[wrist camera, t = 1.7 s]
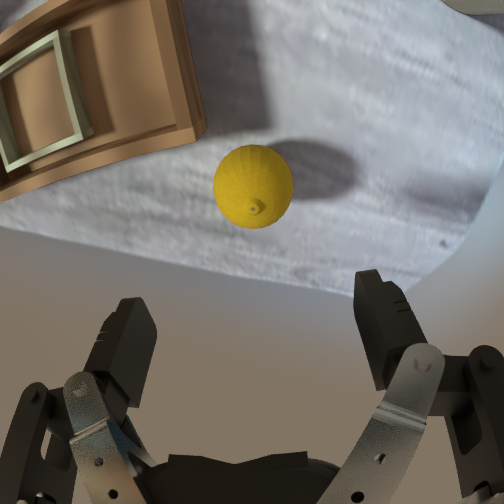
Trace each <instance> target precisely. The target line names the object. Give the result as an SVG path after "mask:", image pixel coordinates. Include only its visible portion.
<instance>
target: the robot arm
mask: <svg viewBox="0 0 504 504" xmlns="http://www.w3.org/2000/svg"><path fill="white" fill-rule="evenodd" d="M442 1H443V2H444V3H445V4H447V5H448V6H450V7H452V8H453V9H455V10H457V11H459V12H461V13H465V14H469V15H483V14H504V0H442ZM353 308H354V315H355V319H356V323H357V325H358V329H359V332H360V336H361V339H362V342H363V345H364V349H365V352H366V355H367V359H368V362H369V366H370V369H371V373H372V376H373V379H374V383H375V387H376V390H377V391H379V390H384V389H386V393H385V395H384V397H383V399H382V401H381V403H380V405H379V406H378V407H377V408H376V410H375V411H374V413H373V415H372V417H371V419H370V420H369V422H368V424H367V426H366V428H365V429H364V431H363V433H362V435H361V437H360V438H359V440H358V441H357V443H356V445H355V447H354V448H353V450H352V451H351V453H350V455H349V456H348V458H347V459H346V461H345V463H344V464H343V466H342V467H341V468H340V467H338V466H336V465H334V464H332V463H329V462H325V461H322V460H318V459H311V458H307V457H308V456H307V451H303V452H295V453H284V454H271V455H268V456H265V457H261V458H258V459H254V460H250V461H246V462H243V463H239V464H231V463H226V462H222V461H218V460H214V459H210V458H206V457H203V456H190V455H173V454H169V458H168V462H166V463H162V464H159V465H158V464H157V463H156V462H155V460H154V459H153V458H152V457H151V456H150V455H149V453H148V452H147V450H146V448H145V447H144V445H143V443H142V441H141V439H140V437H139V436H138V434H137V432H136V430H135V428H134V426H133V424H132V422H131V420H130V418H129V416H128V415H127V414H126V412H127V408H128V407H135V408H139V405H140V400H141V396H142V392H143V388H144V384H145V381H146V377H147V372H148V369H149V365H150V362H151V358H152V354H153V351H154V347H155V344H156V339H157V329H156V325H155V323H154V321H153V319H152V317H151V315H150V313H149V311H148V309H147V307H146V305H145V303H144V301H143V299H142V298H140V297H135V298H124V299H122V300H121V301H120V303H119V305H118V307H117V310H116V312H112V313H111V315H110V316H109V317H108V318H107V319H106V320H105V321H104V323H103V325H102V328H101V330H100V334H99V335H98V337H97V339H96V342H95V343H94V346H93V348H92V351H91V353H90V355H89V358H88V361H87V362H86V365H85V367H84V370H83V372H78V373H76V374H74V375H72V376H71V377H70V378H69V379H68V380H67V381H66V383H65V385H64V387H61V388H57V389H53V390H48V388H47V387H46V386H45V385H43V384H42V383H40V382H35V383H32V384H30V385H29V386H28V387H27V388H26V389H25V390H24V391H23V393H22V395H21V398H20V401H19V403H18V406H17V409H16V411H15V414H14V417H13V419H12V422H11V425H10V428H9V431H8V434H7V437H6V440H5V444H4V447H3V450H2V454H1V457H0V504H72V497H73V491H74V485H75V479H76V474H77V469H78V470H79V472H80V475H81V478H82V480H83V483H84V485H85V487H86V490H87V492H88V495H89V497H90V499H91V502H92V504H389V502H390V500H391V498H392V497H393V495H394V493H395V491H396V489H397V488H398V486H399V484H400V482H401V480H402V478H403V476H404V474H405V473H406V470H407V469H408V466H409V464H410V462H411V460H412V458H413V456H414V454H415V451H416V449H417V447H418V445H419V443H420V440H421V438H422V436H423V433H424V430H425V428H426V419H427V416H444V418H445V421H446V425H447V429H448V433H449V437H450V441H451V445H452V450H453V454H454V459H455V463H456V468H457V473H458V478H459V483H460V489H461V494H462V499H461V500H460V501H459V502H458V503H457V504H504V357H503V355H502V354H501V353H500V352H499V351H498V350H497V349H496V348H494V347H491V346H488V345H482V346H478V347H476V348H474V349H473V350H472V352H471V353H470V355H469V356H448V355H443V354H442V352H441V351H440V350H439V349H438V348H437V347H435V346H433V345H431V344H428V342H427V340H426V338H425V336H424V334H423V332H422V329H421V327H420V325H419V323H418V321H417V319H416V317H415V315H414V313H413V311H412V310H411V307H410V305H409V303H408V302H407V299H406V297H405V295H404V293H403V292H402V290H401V289H400V288H399V287H398V286H397V285H396V284H394V283H393V282H392V281H387V282H383V281H382V279H381V277H380V275H379V273H378V271H377V270H376V269H372V270H366V271H359V272H356V274H355V286H354V301H353ZM46 429H47V430H48V431H50V432H51V433H52V434H51V438H50V442H49V445H48V449H47V453H46V457H45V460H44V459H43V458H42V456H41V452H40V451H41V446H42V442H43V438H44V435H45V431H46Z"/></svg>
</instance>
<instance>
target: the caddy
mask: <svg viewBox="0 0 504 504" xmlns="http://www.w3.org/2000/svg"><path fill="white" fill-rule="evenodd" d="M206 128H207V125H206V120H205V116H204V111H203V107H202V102H201V97H200V93H199V88H198V83H197V79H196V74H195V69H194V64H193V60H192V55H191V50H190V45H189V40H188V35H187V31H186V26H185V21H184V16H183V11H182V6H181V1H180V0H49V1H47V2H45V3H44V4H42V5H41V6H39V7H37V8H36V9H34V10H33V11H31V12H30V13H28V14H27V15H25V16H24V17H22V18H21V19H20V20H18V21H17V22H15V23H14V24H13V25H11V26H10V27H8V28H7V29H6V30H4V31H3V32H2V33H1V34H0V203H2V202H4V201H7V200H9V199H11V198H14V197H16V196H19V195H21V194H23V193H26V192H28V191H31V190H34V189H36V188H39V187H41V186H44V185H47V184H50V183H52V182H55V181H58V180H61V179H64V178H66V177H69V176H72V175H75V174H78V173H81V172H84V171H87V170H91V169H94V168H97V167H100V166H103V165H107V164H110V163H114V162H117V161H120V160H124V159H128V158H131V157H135V156H139V155H142V154H146V153H150V152H154V151H158V150H162V149H166V148H171V147H175V146H179V145H184V144H188V143H193V142H196V141H197V140H198V139H199V137H200V136H201V135H202V133H203V132H204V131H205V130H206Z"/></svg>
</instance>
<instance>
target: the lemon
mask: <svg viewBox="0 0 504 504" xmlns="http://www.w3.org/2000/svg"><path fill="white" fill-rule="evenodd" d="M213 190H214V195H215V200H216V203H217V205H218V207H219V209H220V211H221V212H222V213H223V215H224V216H225V217H226V218H227V219H228V220H229V221H231V222H232V223H234V224H235V225H238V226H240V227H243V228H249V229H258V228H263V227H266V226H269V225H271V224H273V223H275V222H276V221H277V220H278V219H279V218H281V217H282V216H283V215H284V213H285V212H286V210H287V208H288V207H289V205H290V202H291V198H292V195H293V178H292V174H291V171H290V169H289V167H288V165H287V163H286V161H285V160H284V159H283V158H282V157H281V156H280V155H279V154H278V153H277V152H275V151H274V150H272V149H270V148H268V147H265V146H261V145H246V146H241V147H239V148H237V149H235V150H233V151H231V152H230V153H229V154H228V155H227V156H225V157H224V159H223V160H222V161H221V163H220V164H219V166H218V168H217V171H216V173H215V176H214V187H213Z"/></svg>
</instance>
